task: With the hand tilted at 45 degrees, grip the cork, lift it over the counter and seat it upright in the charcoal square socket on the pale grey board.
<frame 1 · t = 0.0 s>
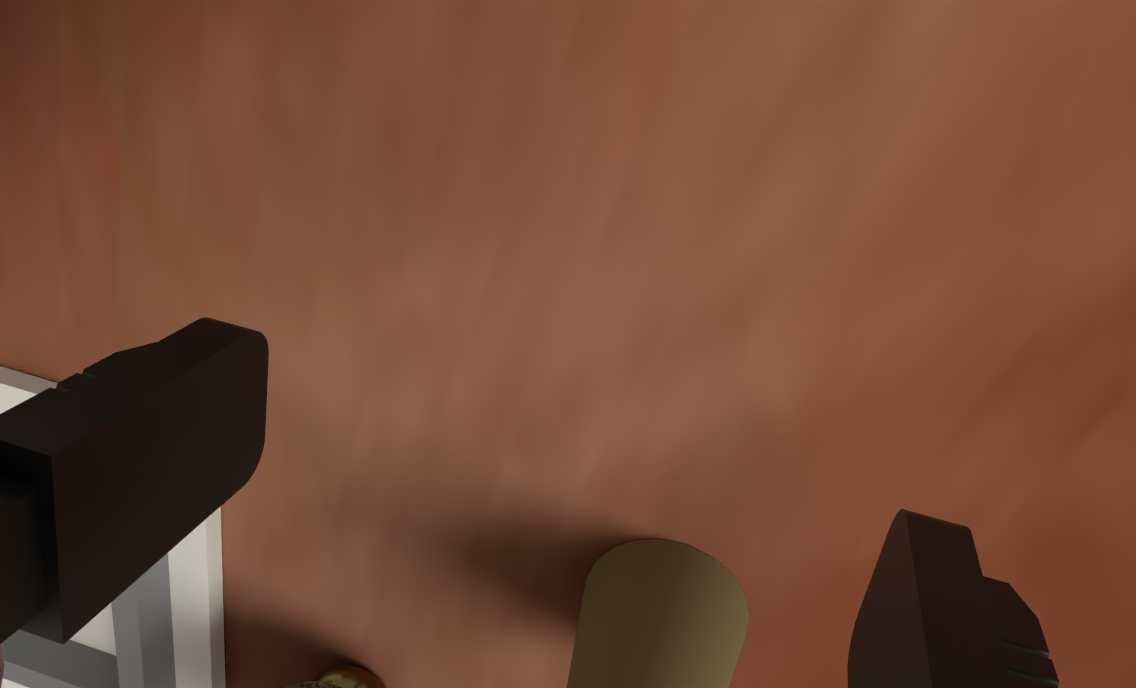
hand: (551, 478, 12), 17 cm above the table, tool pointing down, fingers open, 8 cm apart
cup: (359, 686, 40), on the table
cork: (665, 603, 34), on the table
socket board: (80, 558, 41), on the table
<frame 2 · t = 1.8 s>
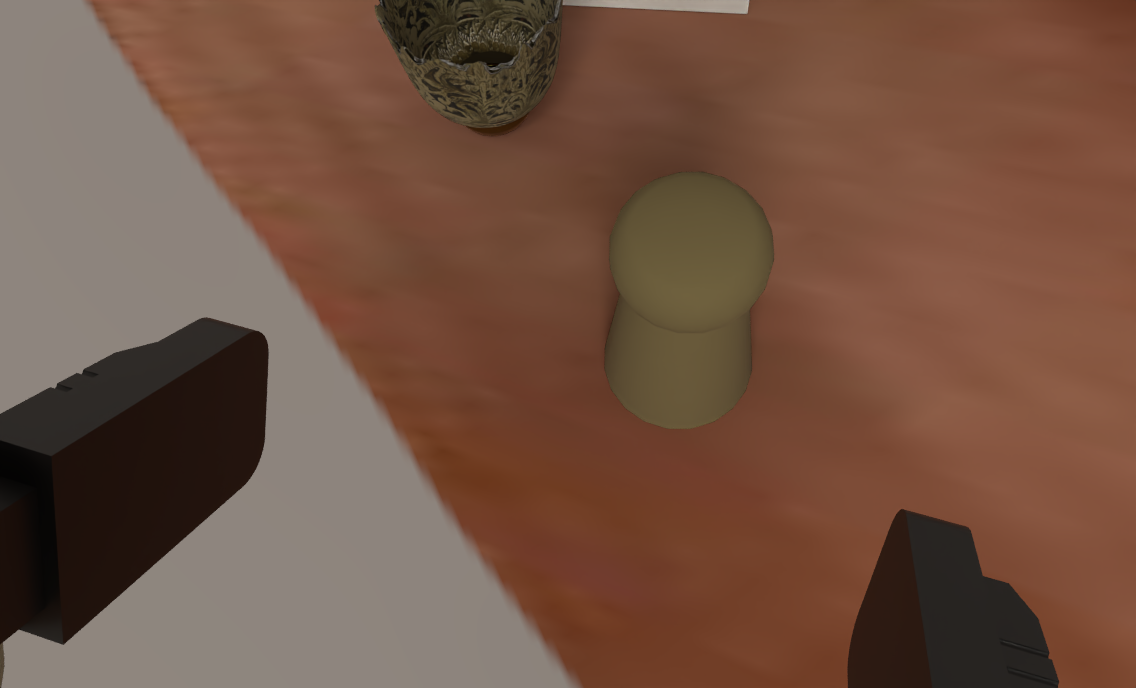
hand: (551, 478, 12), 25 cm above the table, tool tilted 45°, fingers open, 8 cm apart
cup: (495, 112, 44), on the table
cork: (677, 360, 39), on the table
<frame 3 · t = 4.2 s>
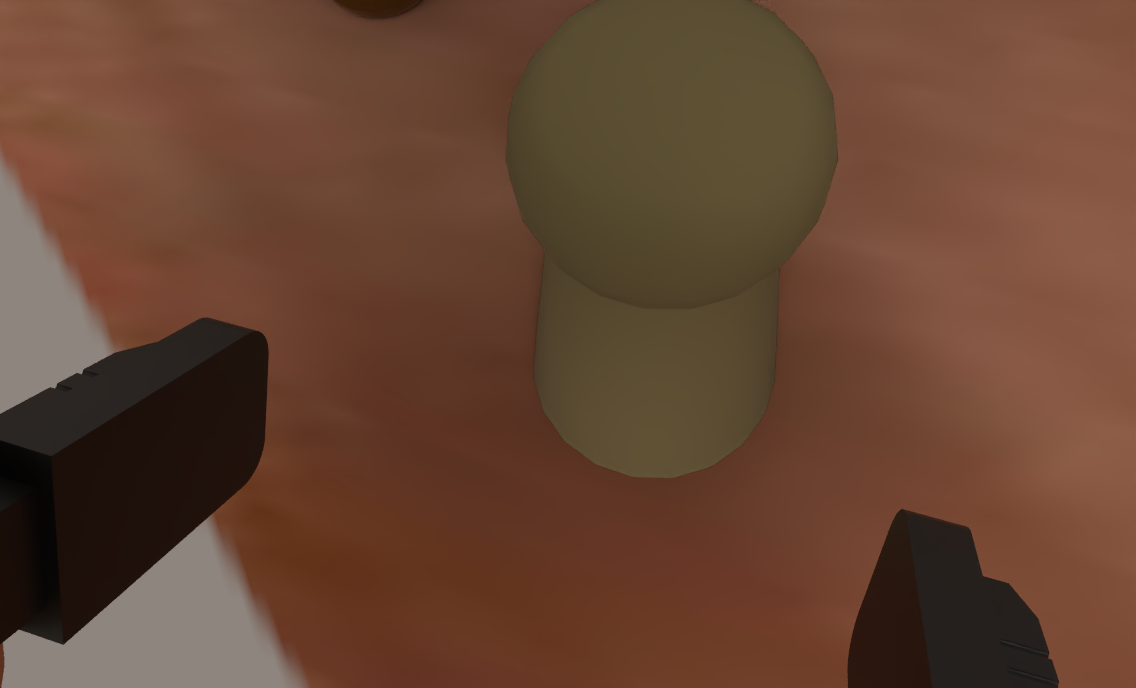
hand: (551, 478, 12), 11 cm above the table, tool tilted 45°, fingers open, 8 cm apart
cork: (652, 364, 24), on the table
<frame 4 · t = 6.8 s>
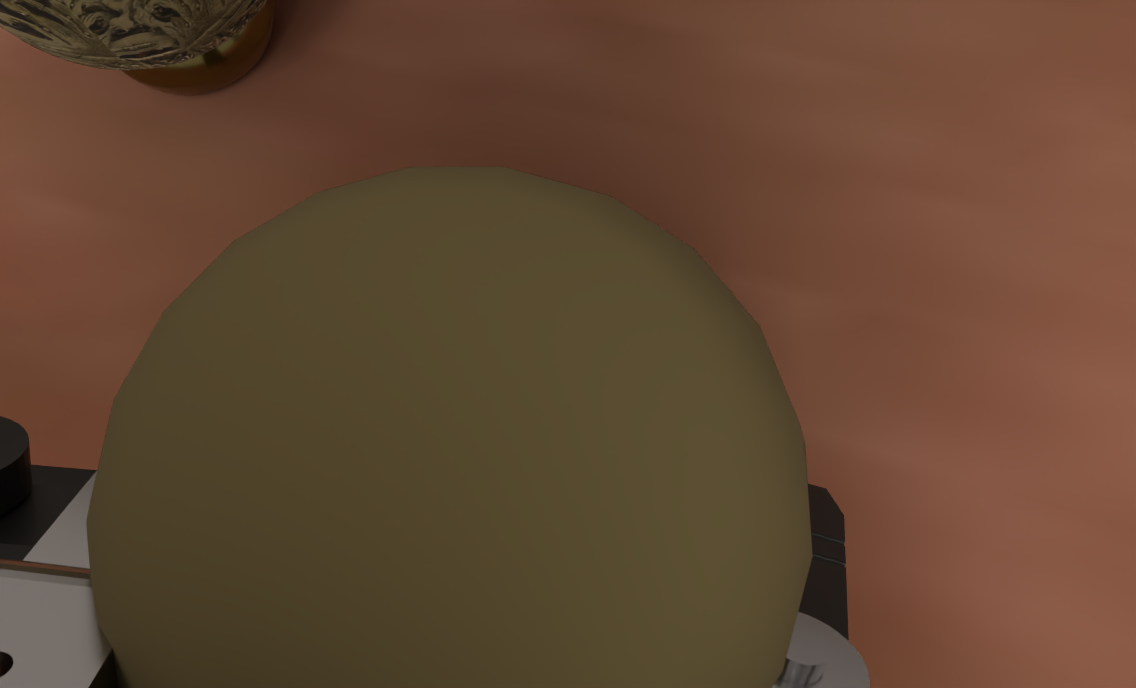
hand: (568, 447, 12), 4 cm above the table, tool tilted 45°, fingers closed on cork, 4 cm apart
cup: (207, 48, 21), on the table
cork: (551, 631, 16), on the table, touching gripper
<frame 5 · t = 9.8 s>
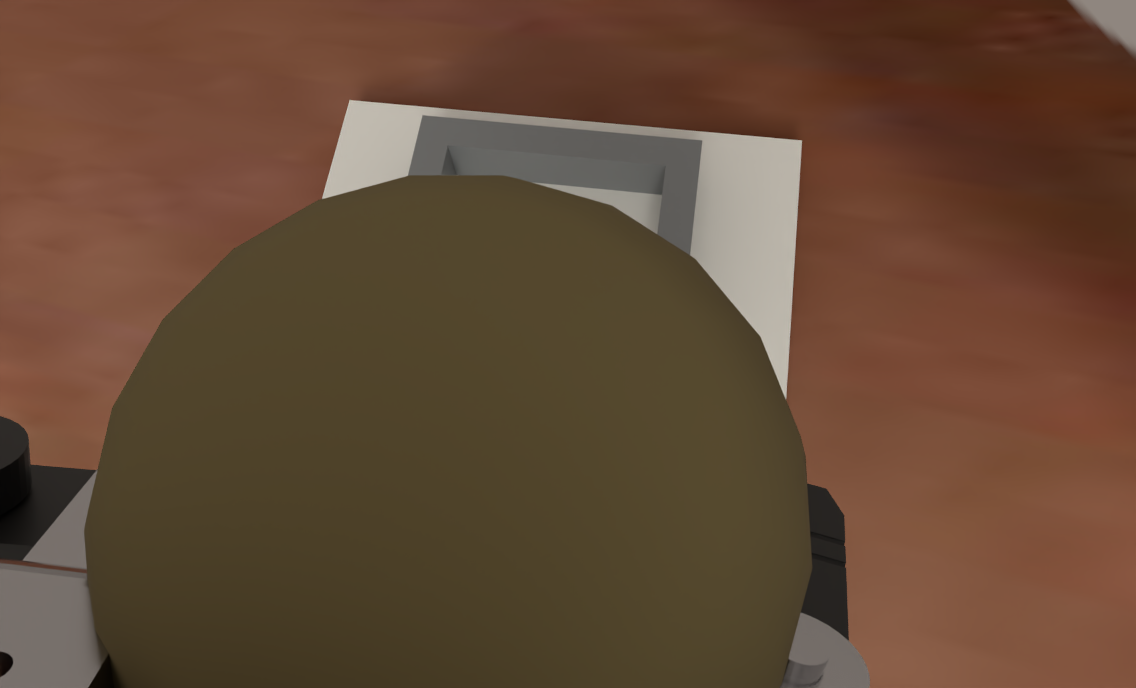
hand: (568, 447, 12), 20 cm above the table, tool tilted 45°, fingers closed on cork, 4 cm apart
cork: (550, 635, 16), point 15 cm above the table, touching gripper
socket board: (544, 290, 35), on the table
when the fingers open (7 cm above the table, at t = 12.9 s): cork drops 1 cm, resting on socket board.
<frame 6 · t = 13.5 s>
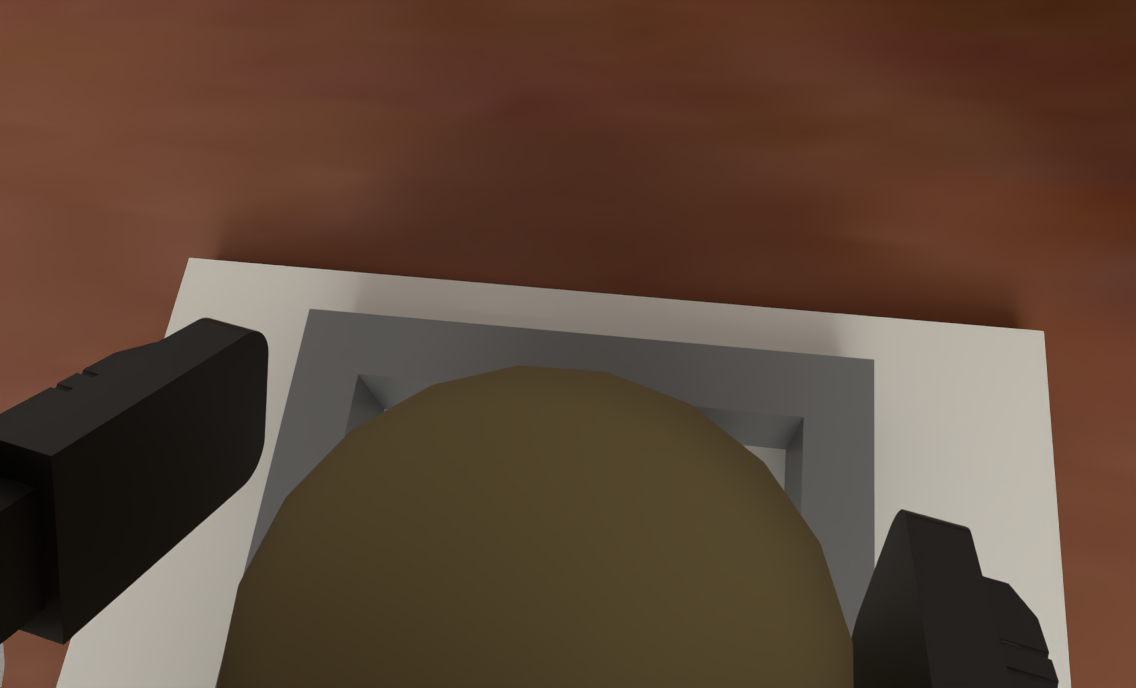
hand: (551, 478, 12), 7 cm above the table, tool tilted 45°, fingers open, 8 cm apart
socket board: (558, 643, 18), on the table
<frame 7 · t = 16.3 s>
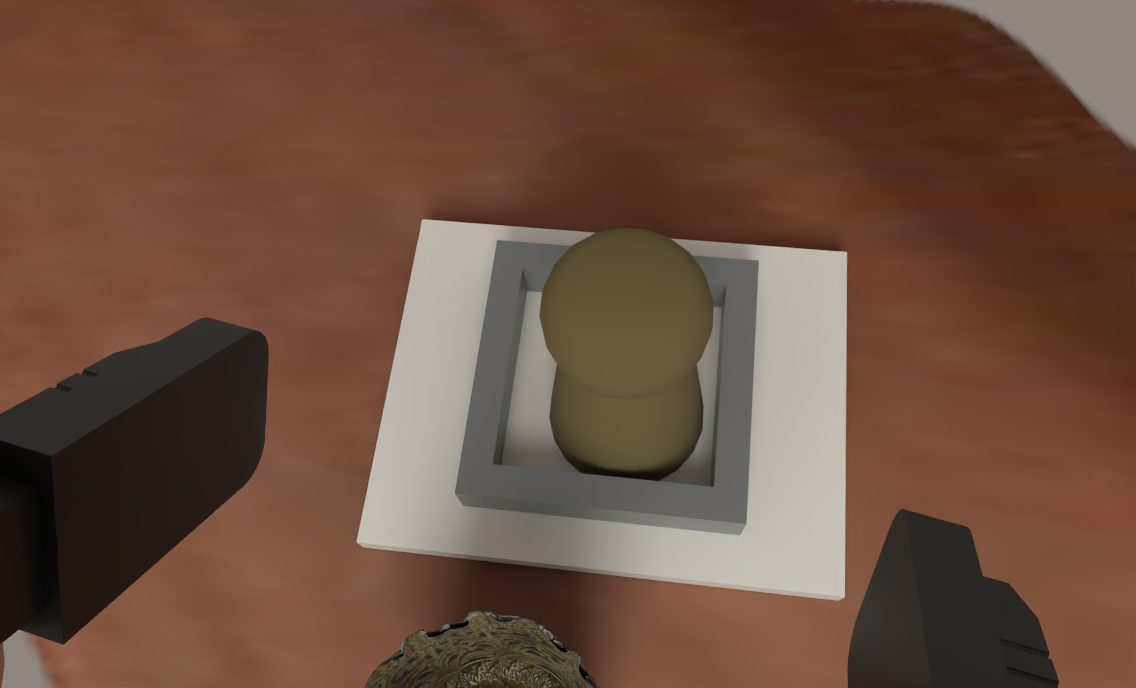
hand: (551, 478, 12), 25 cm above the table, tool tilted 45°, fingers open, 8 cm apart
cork: (626, 413, 37), point 1 cm above the table, touching socket board
socket board: (613, 398, 38), on the table
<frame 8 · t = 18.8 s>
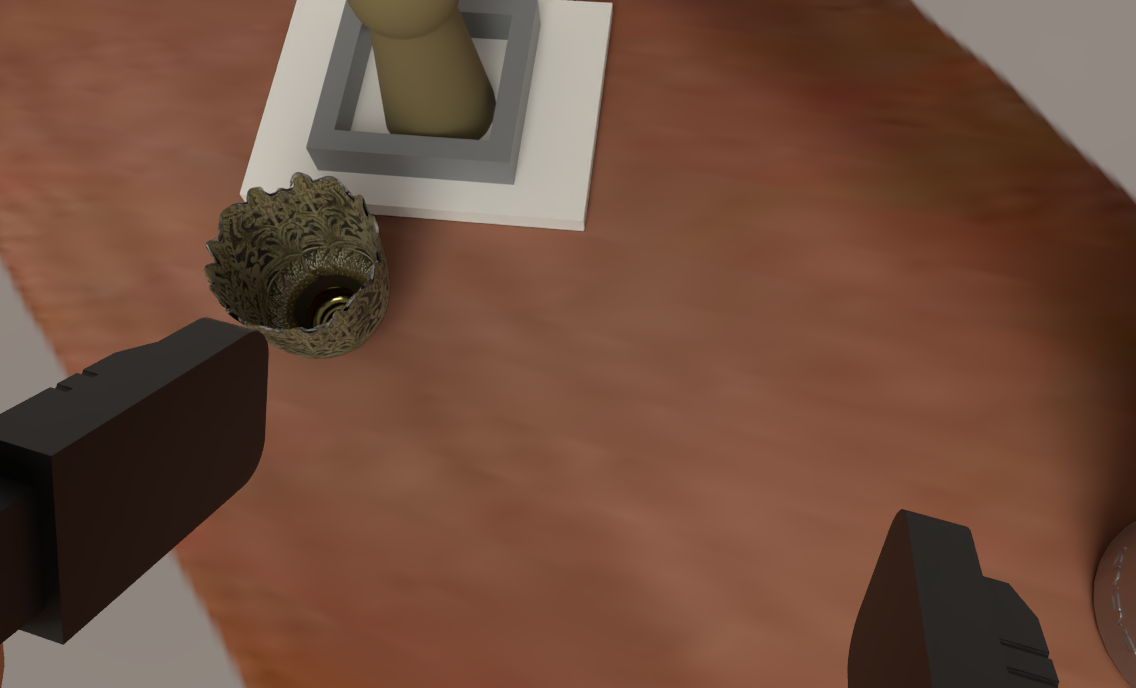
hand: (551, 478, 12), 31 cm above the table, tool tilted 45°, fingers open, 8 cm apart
cup: (344, 326, 47), on the table
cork: (440, 111, 50), point 1 cm above the table, touching socket board
socket board: (435, 106, 51), on the table
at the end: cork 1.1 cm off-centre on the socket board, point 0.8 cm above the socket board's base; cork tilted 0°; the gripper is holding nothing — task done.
